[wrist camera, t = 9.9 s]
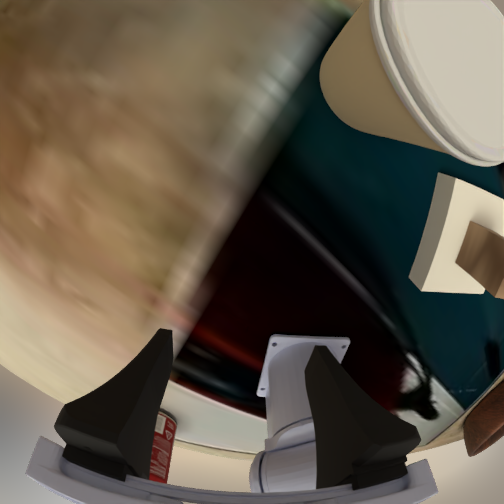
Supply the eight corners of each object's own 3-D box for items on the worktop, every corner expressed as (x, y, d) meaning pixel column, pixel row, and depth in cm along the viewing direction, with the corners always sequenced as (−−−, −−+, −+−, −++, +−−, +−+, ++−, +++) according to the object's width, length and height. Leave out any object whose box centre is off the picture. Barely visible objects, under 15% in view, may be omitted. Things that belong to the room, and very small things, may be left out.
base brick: (468, 280, 23) (483, 293, 21) (406, 274, 23) (421, 291, 20) (494, 196, 19) (513, 204, 17) (434, 171, 19) (455, 178, 16)
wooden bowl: (489, 417, 44) (501, 439, 35) (438, 439, 43) (451, 468, 33) (537, 355, 34) (555, 378, 25) (499, 371, 33) (521, 404, 23)
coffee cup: (433, 122, 17) (550, 138, 6) (343, 163, 18) (451, 207, 7) (384, 21, 13) (478, -33, 2) (283, 51, 15) (326, -42, 4)
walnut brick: (478, 269, 19) (515, 300, 14) (454, 262, 19) (494, 297, 13) (492, 230, 18) (534, 256, 12) (469, 220, 17) (515, 247, 12)
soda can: (136, 397, 29) (113, 474, 18) (184, 416, 31) (171, 493, 20) (128, 416, 32) (108, 482, 21) (169, 432, 33) (157, 499, 22)
